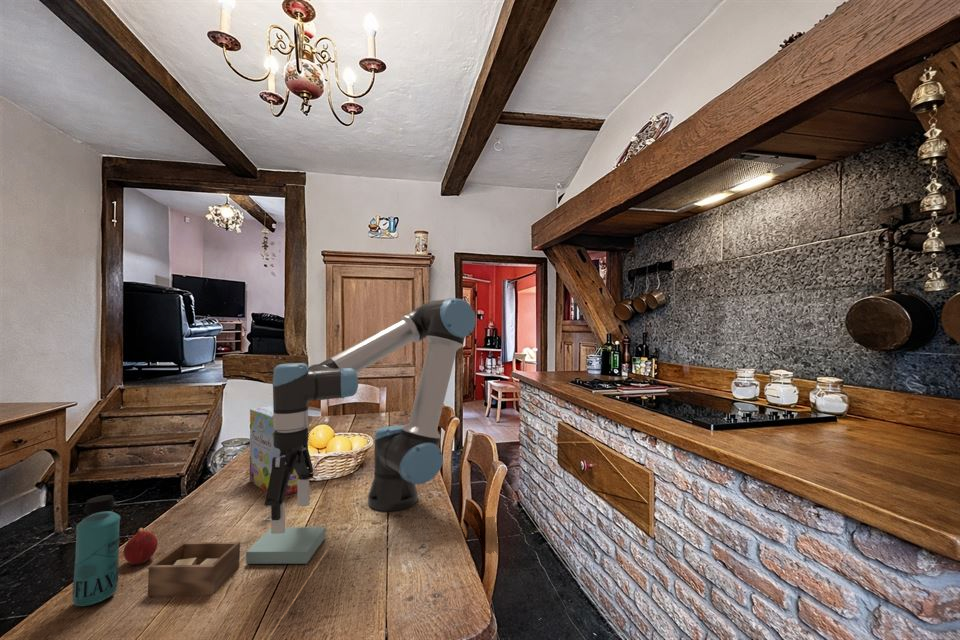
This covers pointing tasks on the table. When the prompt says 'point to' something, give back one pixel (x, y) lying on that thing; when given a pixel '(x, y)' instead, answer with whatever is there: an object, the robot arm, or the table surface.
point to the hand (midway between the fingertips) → (291, 518)
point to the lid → (286, 546)
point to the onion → (140, 547)
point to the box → (194, 569)
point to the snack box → (264, 449)
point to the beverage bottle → (96, 553)
